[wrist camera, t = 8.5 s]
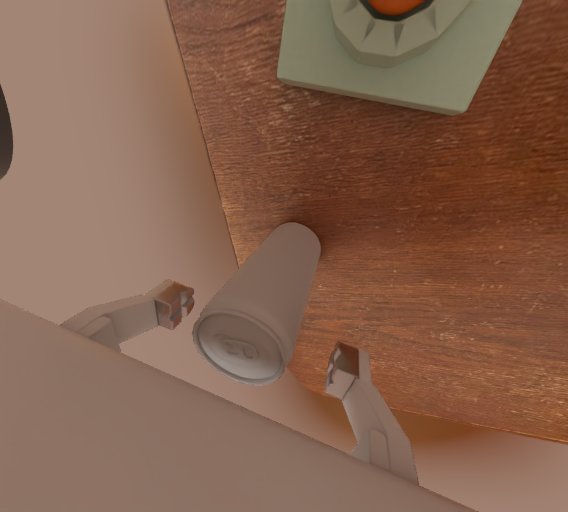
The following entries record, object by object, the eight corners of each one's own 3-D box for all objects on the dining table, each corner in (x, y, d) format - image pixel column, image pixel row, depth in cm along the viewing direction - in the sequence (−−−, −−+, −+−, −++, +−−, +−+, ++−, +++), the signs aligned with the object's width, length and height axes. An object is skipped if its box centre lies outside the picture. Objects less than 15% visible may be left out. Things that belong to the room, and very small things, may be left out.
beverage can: (269, 218, 19) (178, 300, 9) (323, 221, 18) (288, 320, 8) (272, 265, 22) (200, 373, 11) (320, 270, 20) (289, 398, 10)
